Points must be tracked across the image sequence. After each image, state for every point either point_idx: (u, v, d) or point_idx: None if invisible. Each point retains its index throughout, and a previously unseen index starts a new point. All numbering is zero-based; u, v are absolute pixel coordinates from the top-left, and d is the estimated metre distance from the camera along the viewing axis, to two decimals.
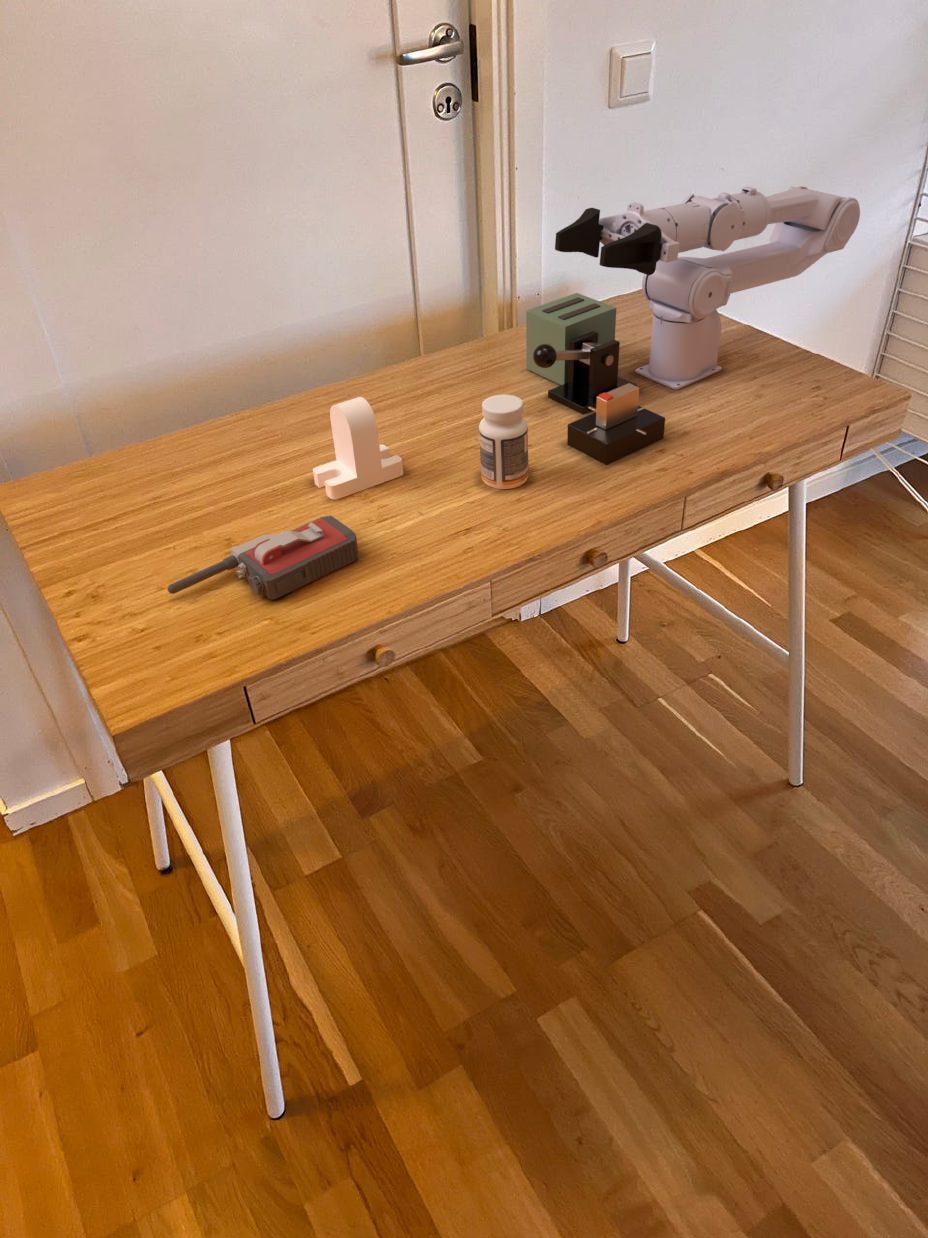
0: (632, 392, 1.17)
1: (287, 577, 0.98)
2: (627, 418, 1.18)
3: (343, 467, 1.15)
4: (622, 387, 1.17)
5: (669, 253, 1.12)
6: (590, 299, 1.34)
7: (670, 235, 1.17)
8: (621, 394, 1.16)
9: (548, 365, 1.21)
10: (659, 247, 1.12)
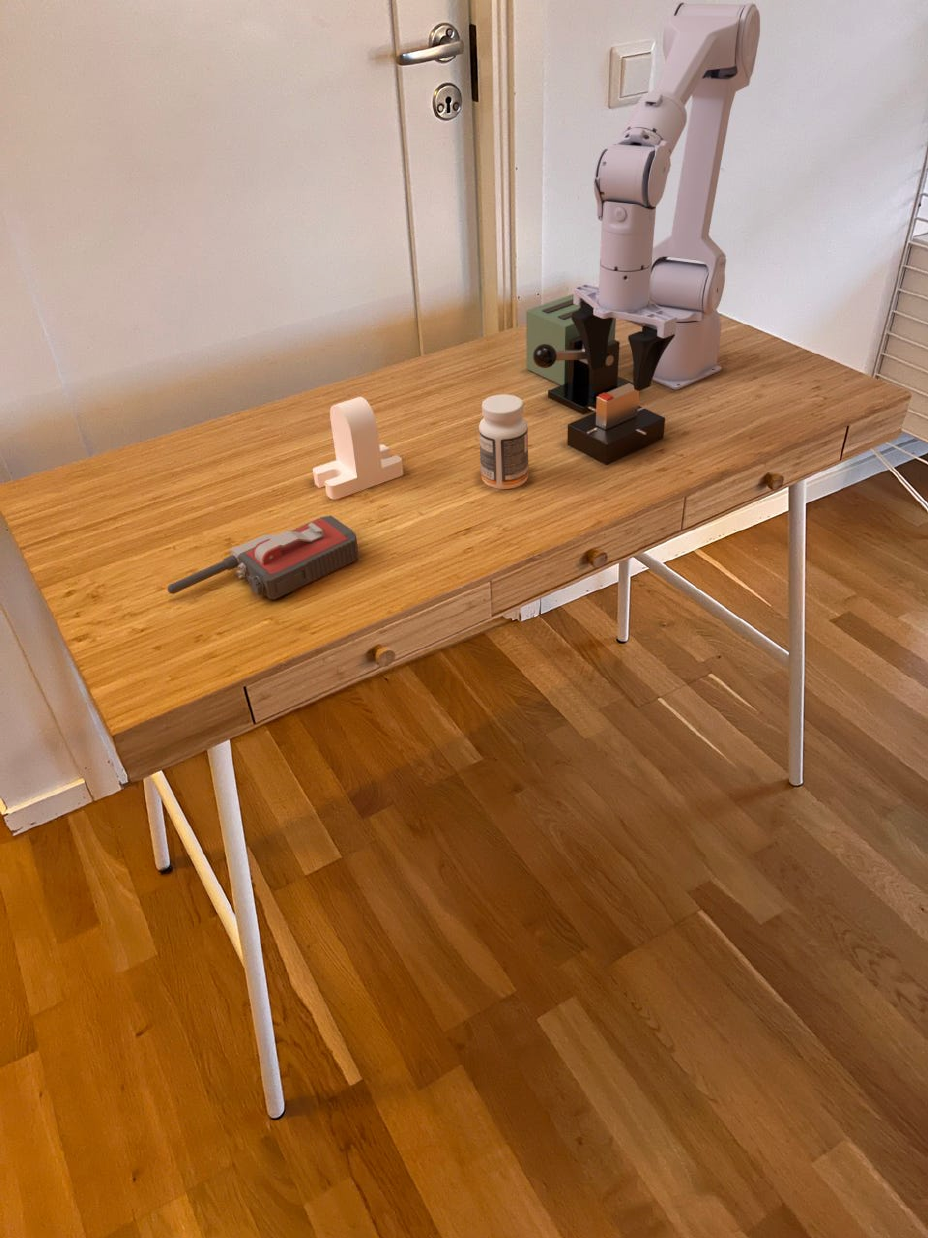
0: (632, 392, 1.17)
1: (287, 577, 0.98)
2: (627, 418, 1.18)
3: (343, 467, 1.15)
4: (622, 387, 1.17)
5: (669, 333, 1.06)
6: None
7: (641, 279, 1.05)
8: (621, 394, 1.16)
9: (548, 365, 1.21)
10: (658, 336, 1.07)
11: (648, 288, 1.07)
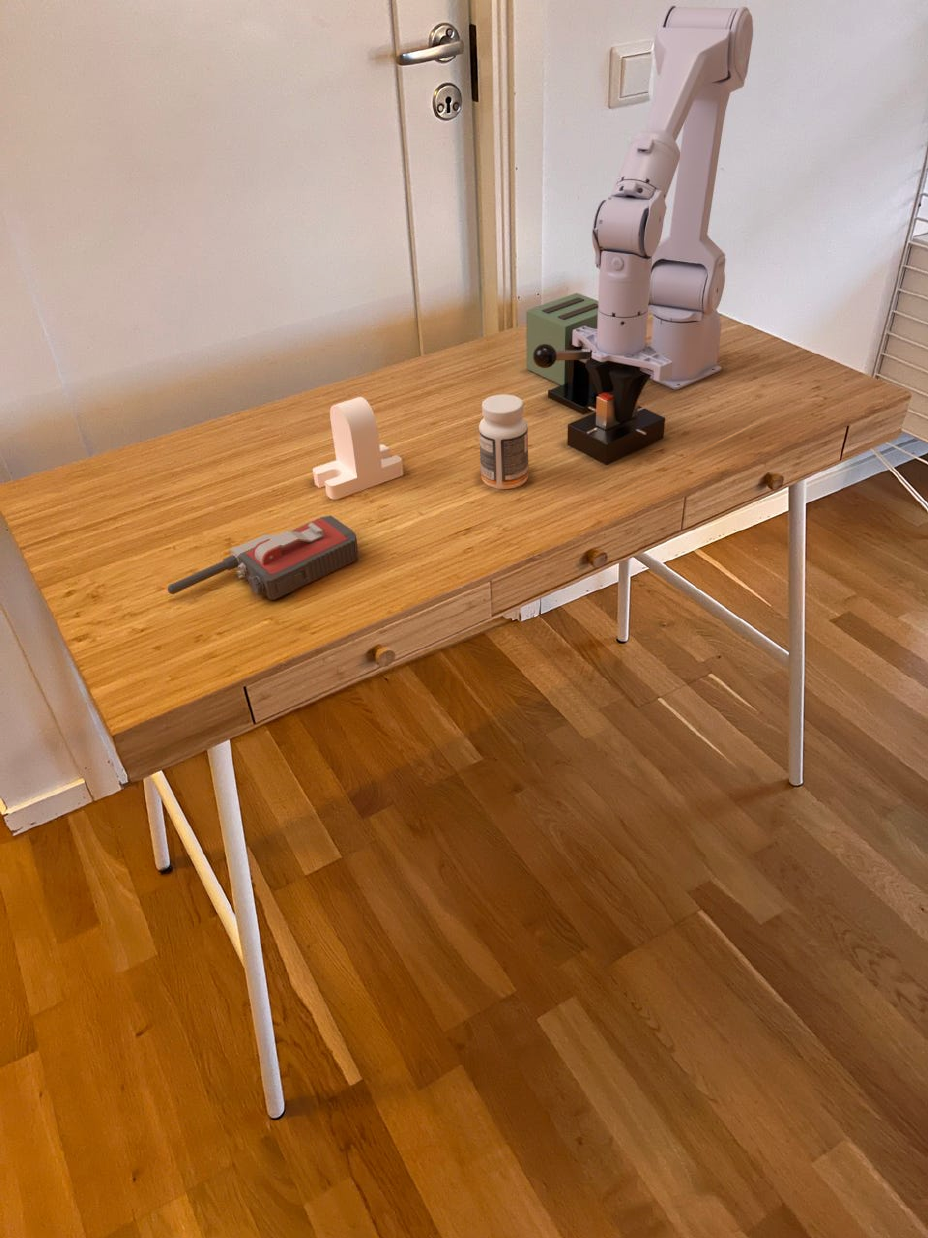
0: None
1: (287, 577, 0.98)
2: None
3: (343, 467, 1.15)
4: None
5: (665, 377, 1.09)
6: (590, 299, 1.34)
7: (637, 324, 1.08)
8: None
9: (548, 365, 1.21)
10: (638, 373, 1.11)
11: (645, 332, 1.10)
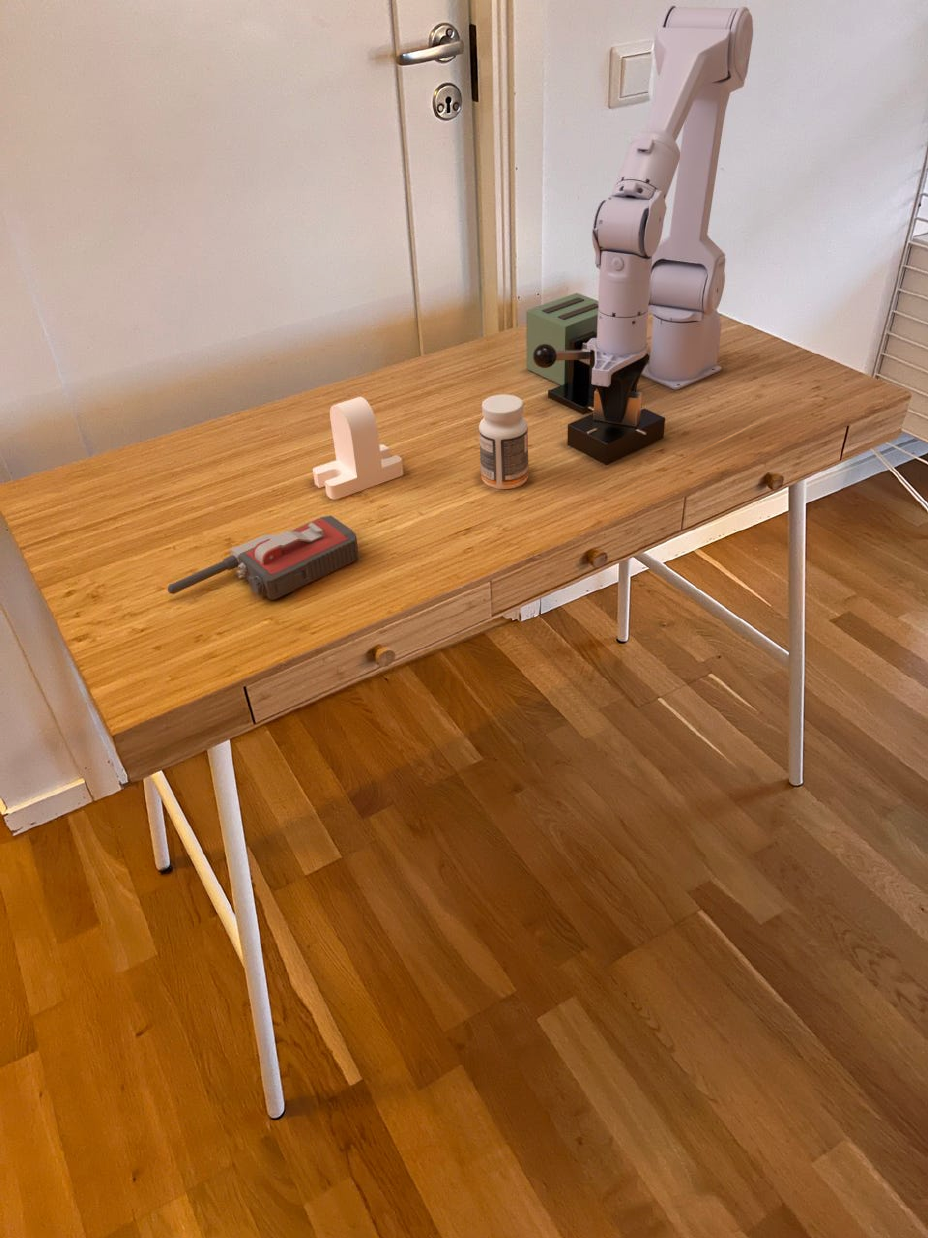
0: (628, 399, 1.15)
1: (287, 577, 0.98)
2: (621, 422, 1.18)
3: (343, 467, 1.15)
4: (630, 391, 1.16)
5: (599, 383, 1.09)
6: (590, 299, 1.34)
7: (611, 325, 1.09)
8: None
9: (548, 365, 1.21)
10: None
11: (624, 339, 1.09)
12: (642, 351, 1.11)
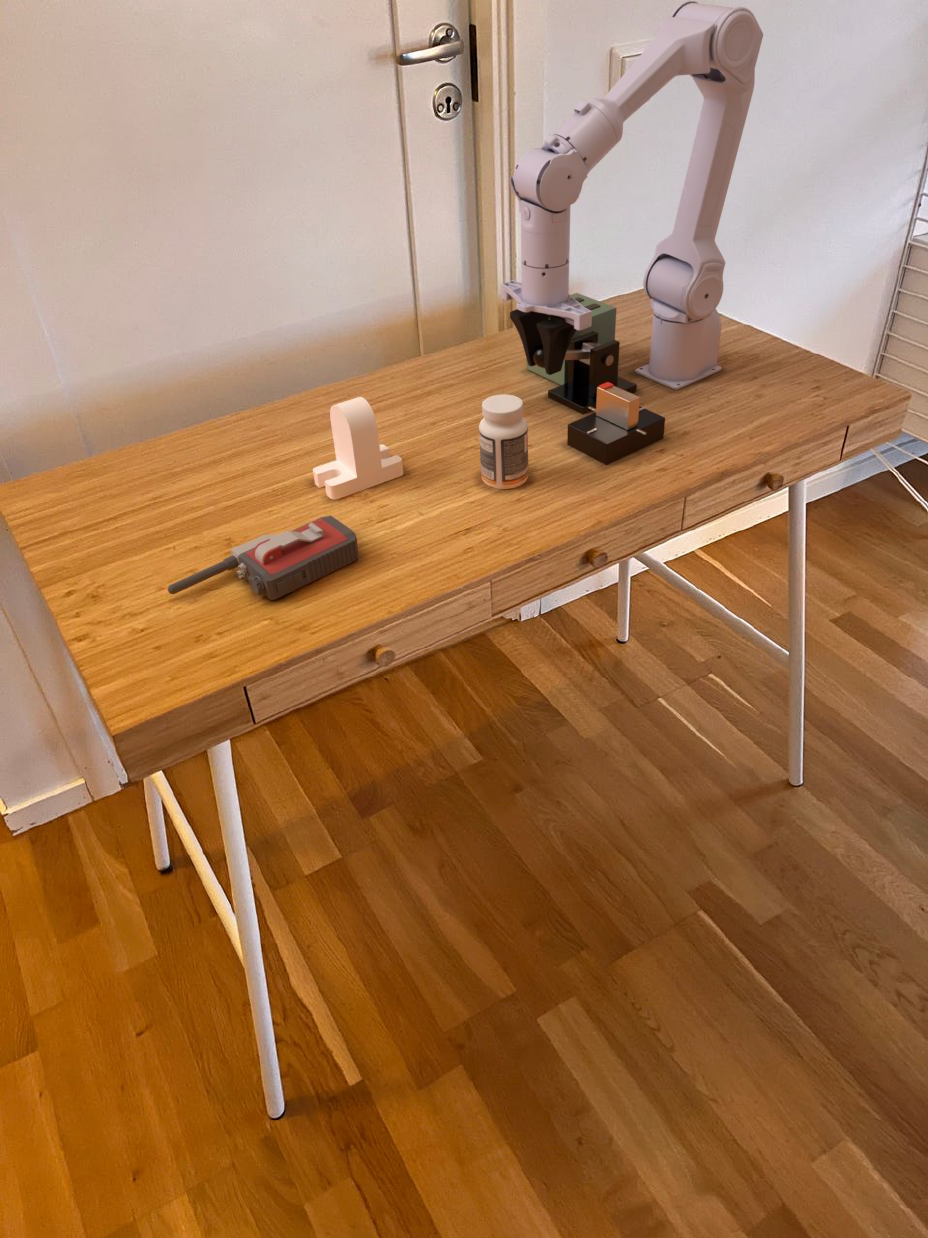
0: (622, 400, 1.15)
1: (287, 577, 0.98)
2: (617, 423, 1.18)
3: (343, 467, 1.15)
4: (629, 393, 1.16)
5: (585, 326, 1.14)
6: (590, 299, 1.34)
7: (558, 275, 1.13)
8: (611, 393, 1.16)
9: None
10: (564, 324, 1.16)
11: (566, 284, 1.15)
12: None
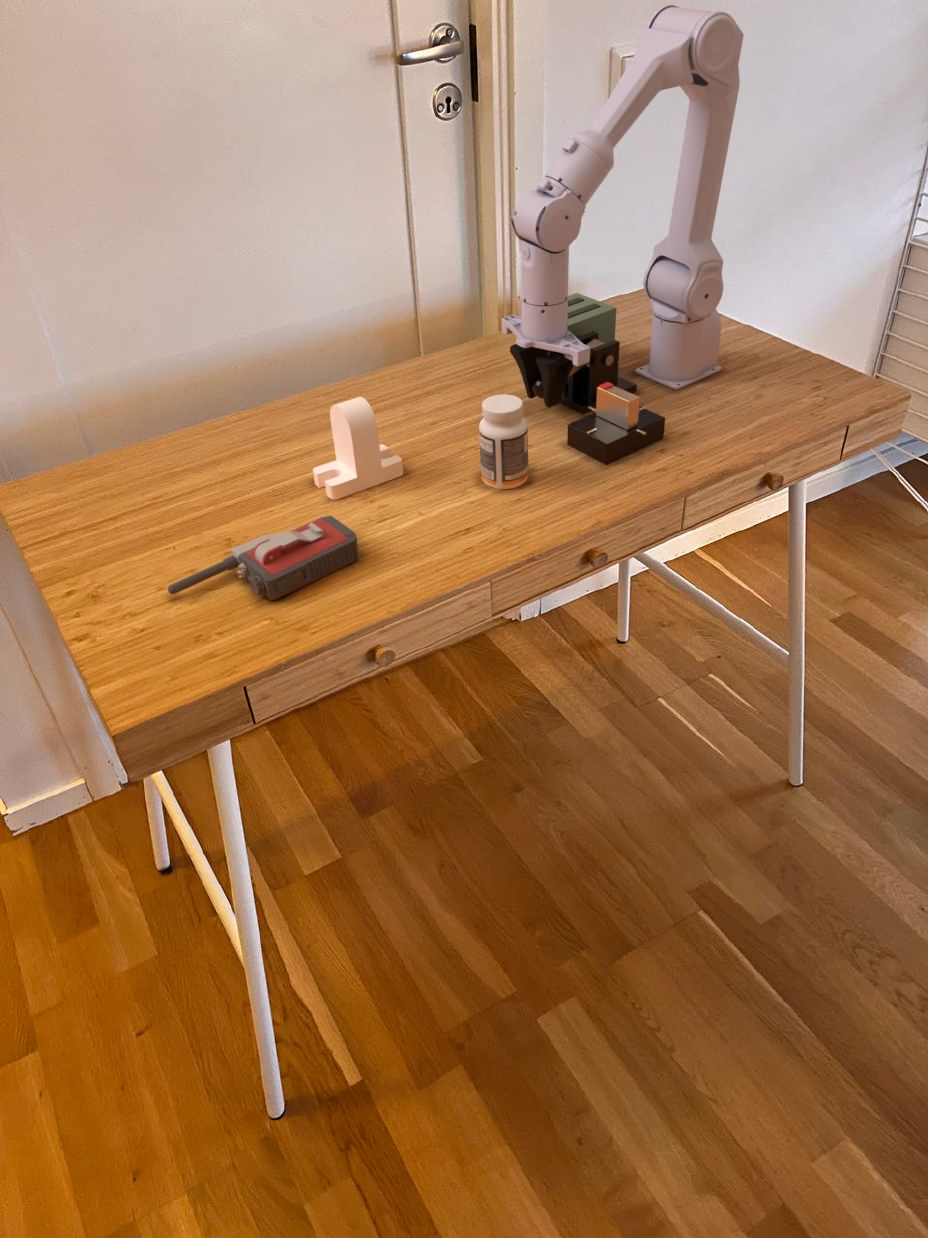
0: (622, 400, 1.15)
1: (287, 577, 0.98)
2: (617, 423, 1.18)
3: (343, 467, 1.15)
4: (629, 393, 1.16)
5: (583, 361, 1.16)
6: (590, 299, 1.34)
7: (557, 312, 1.16)
8: (611, 393, 1.16)
9: None
10: (562, 359, 1.18)
11: (565, 320, 1.18)
12: None
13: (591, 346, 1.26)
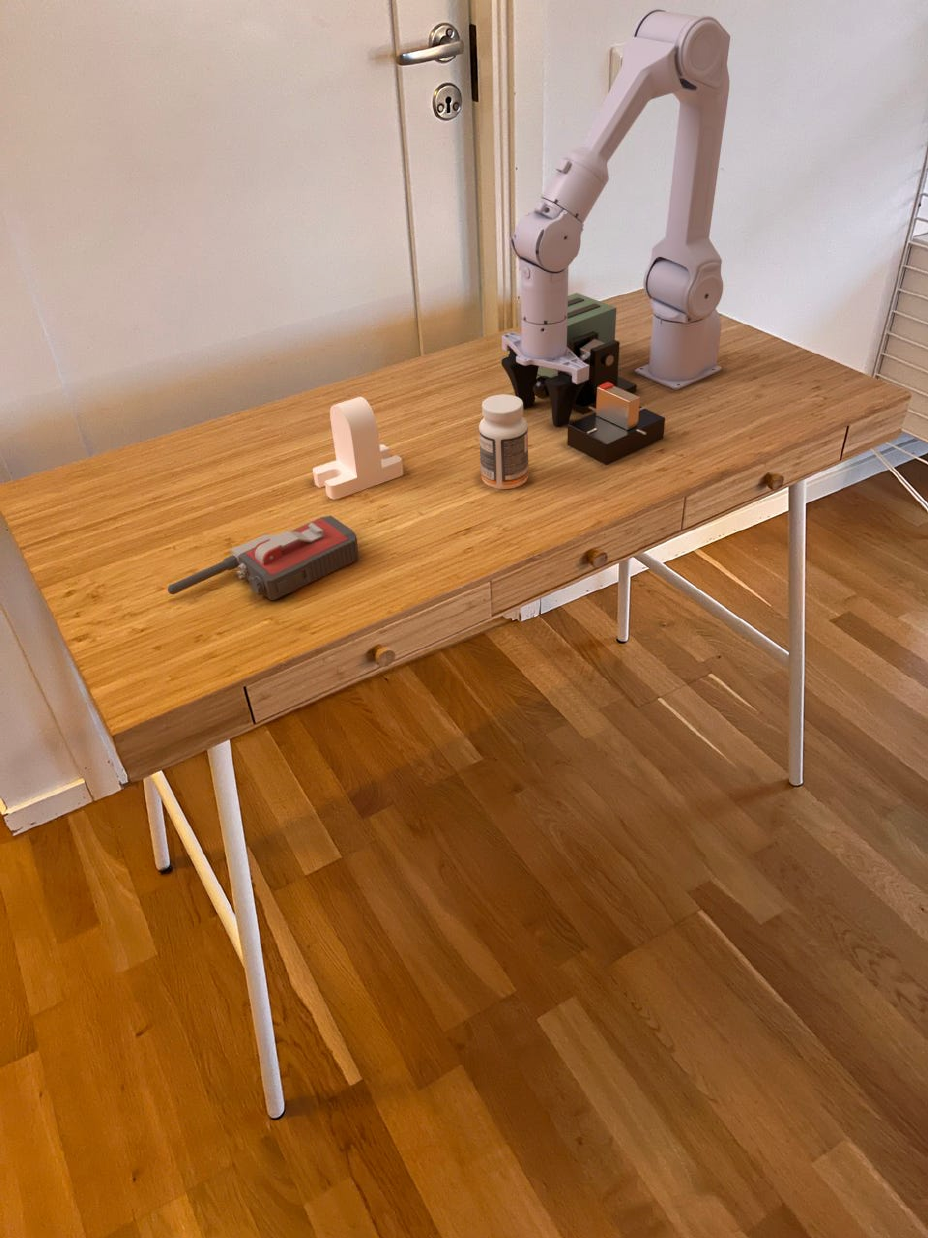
0: (622, 400, 1.15)
1: (287, 577, 0.98)
2: (617, 423, 1.18)
3: (343, 467, 1.15)
4: (629, 393, 1.16)
5: (583, 379, 1.18)
6: (590, 299, 1.34)
7: (557, 331, 1.17)
8: (611, 393, 1.16)
9: (549, 396, 1.24)
10: (571, 381, 1.19)
11: (564, 338, 1.19)
12: None
13: (591, 346, 1.26)
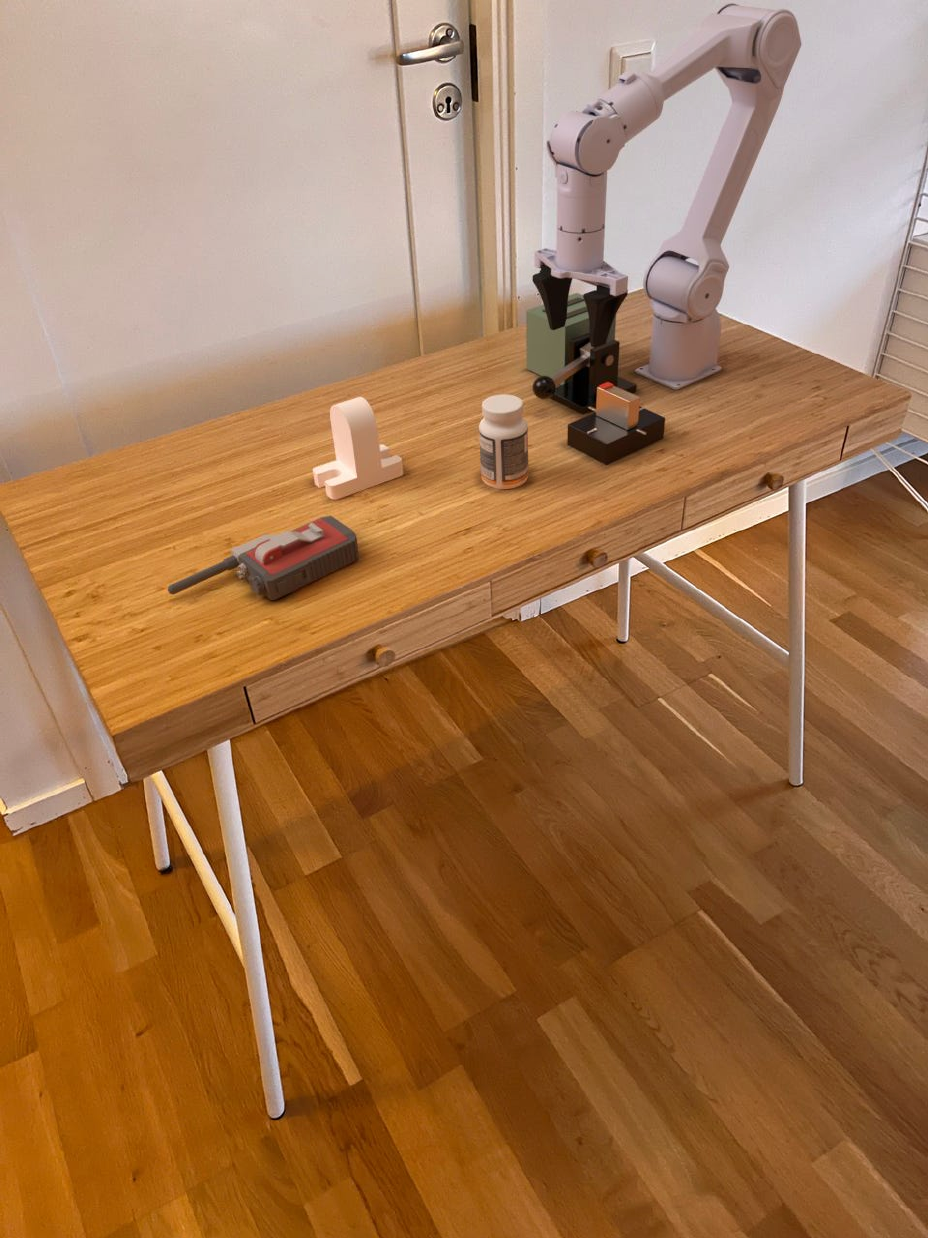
0: (622, 400, 1.15)
1: (288, 577, 0.98)
2: (617, 423, 1.18)
3: (343, 467, 1.15)
4: (629, 393, 1.16)
5: (621, 291, 1.13)
6: None
7: (594, 240, 1.13)
8: (611, 393, 1.16)
9: (549, 396, 1.24)
10: (611, 295, 1.14)
11: (602, 249, 1.14)
12: None
13: None
